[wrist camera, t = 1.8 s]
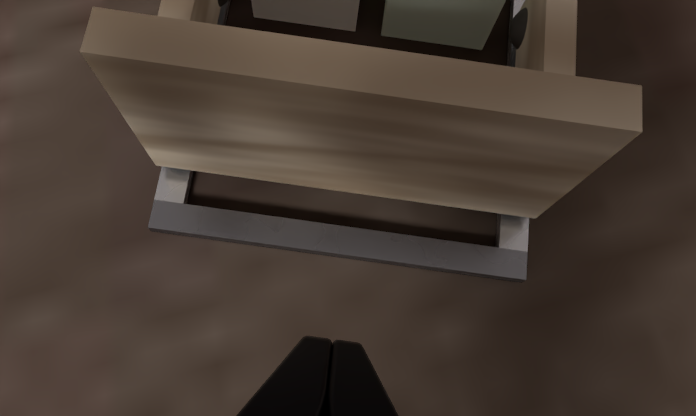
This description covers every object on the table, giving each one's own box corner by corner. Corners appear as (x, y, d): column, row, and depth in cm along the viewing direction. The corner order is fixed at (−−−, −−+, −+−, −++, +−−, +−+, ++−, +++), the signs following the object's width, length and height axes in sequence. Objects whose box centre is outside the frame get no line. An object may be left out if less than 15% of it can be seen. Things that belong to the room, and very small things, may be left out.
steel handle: (521, 282, 22) (526, 279, 22) (151, 231, 22) (147, 227, 21) (539, -89, 27) (543, -98, 26) (235, -134, 27) (233, -143, 26)
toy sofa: (543, 223, 22) (659, 134, 15) (147, 167, 22) (62, 49, 14) (551, 24, 24) (654, -139, 17) (193, -28, 24) (141, -216, 17)
